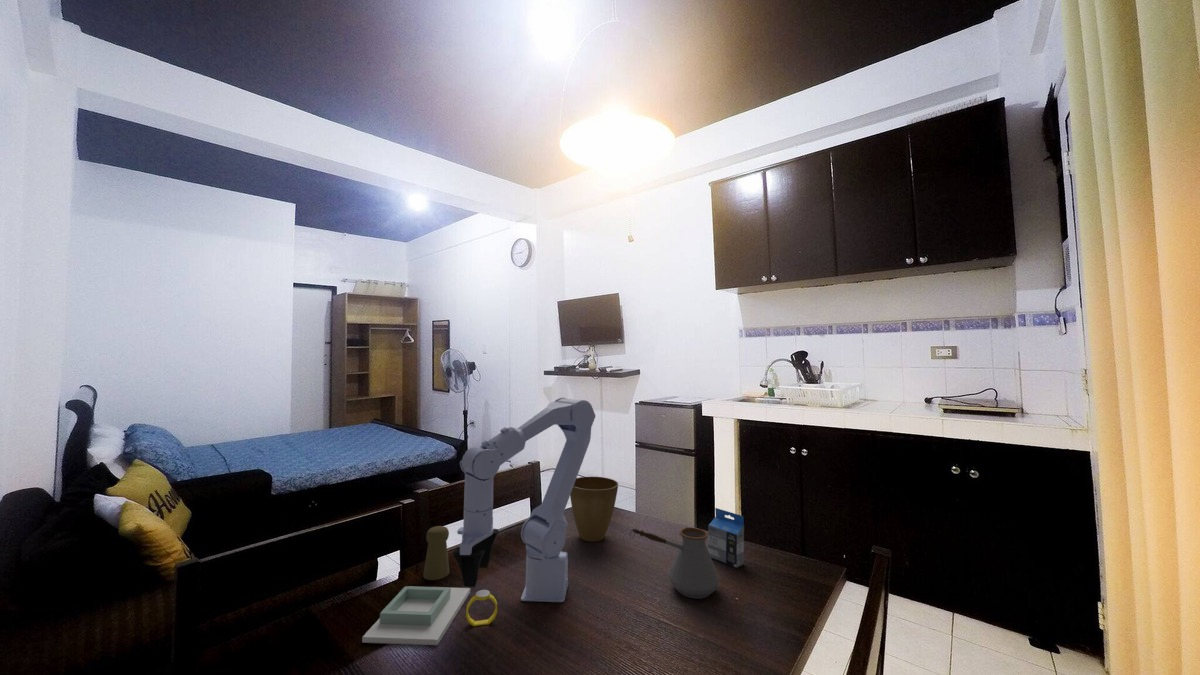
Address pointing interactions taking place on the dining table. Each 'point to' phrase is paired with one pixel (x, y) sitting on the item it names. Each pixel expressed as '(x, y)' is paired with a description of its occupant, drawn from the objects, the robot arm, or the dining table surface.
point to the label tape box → (726, 538)
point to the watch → (481, 596)
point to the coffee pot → (690, 563)
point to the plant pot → (593, 506)
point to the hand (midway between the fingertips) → (476, 576)
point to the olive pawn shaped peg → (436, 554)
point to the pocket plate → (417, 616)
